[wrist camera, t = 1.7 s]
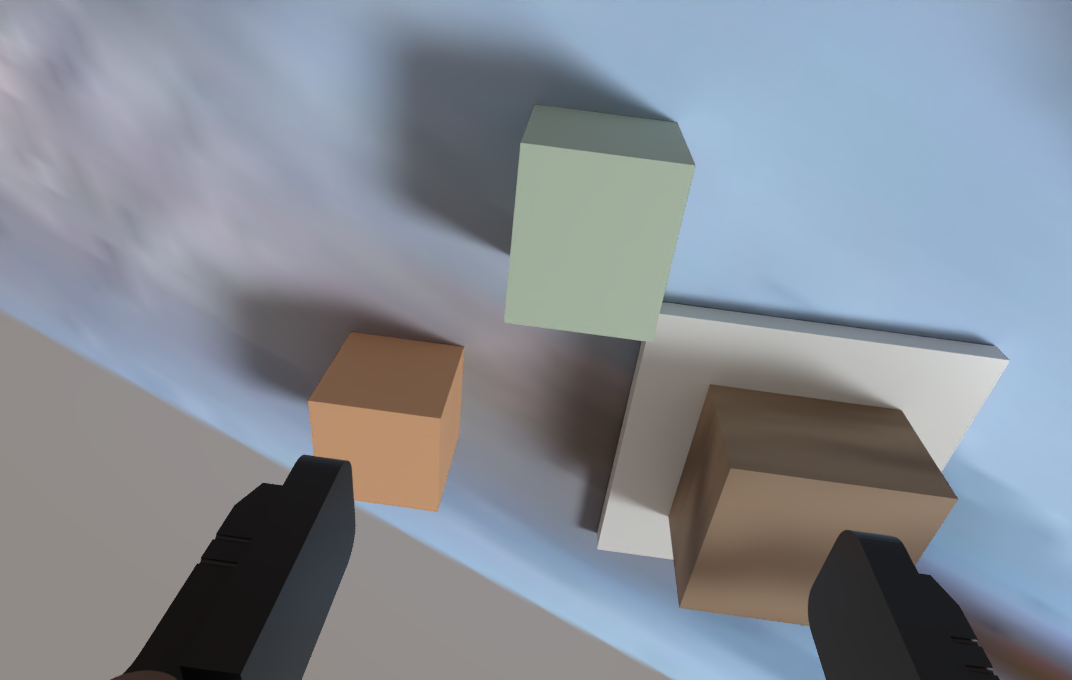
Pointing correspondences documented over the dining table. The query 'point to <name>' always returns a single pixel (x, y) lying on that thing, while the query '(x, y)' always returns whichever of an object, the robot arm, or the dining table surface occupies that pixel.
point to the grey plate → (778, 367)
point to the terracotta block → (391, 417)
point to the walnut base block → (793, 497)
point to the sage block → (595, 221)
